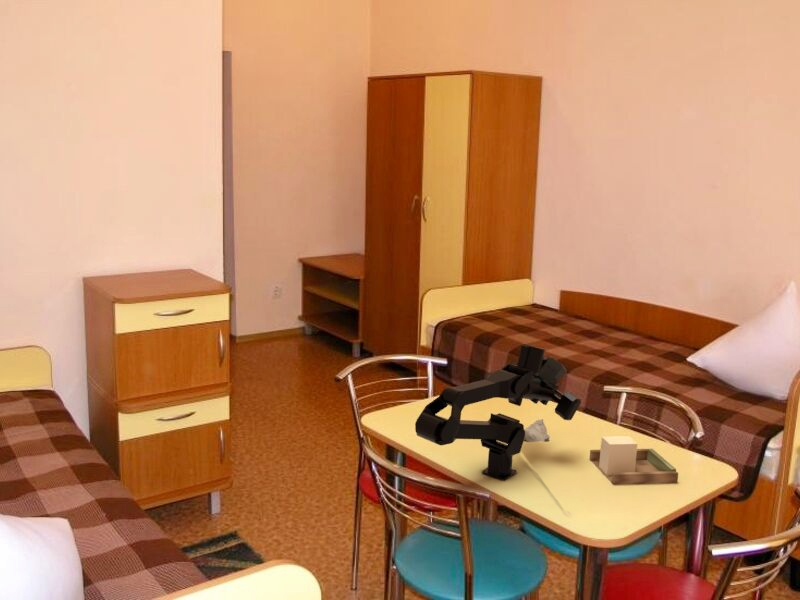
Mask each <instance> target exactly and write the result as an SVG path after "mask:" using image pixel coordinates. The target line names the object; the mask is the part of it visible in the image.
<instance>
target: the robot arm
mask: <svg viewBox="0 0 800 600" xmlns="http://www.w3.org/2000/svg"><path fill="white" fill-rule="evenodd" d="M545 354H546V349H544V348H540V347H536V346H533V345H528V344H522V345H521V346H520V352H519V356H518V360H517V364H512V363H507V364H505V365H504V366H503V367H501V368H500V369H496V370H495V371H493V372H492V373H489V375H488V376H487V378H485V379H482V380H476V381H473V382H470V383H465V384H461V385H457V386H453V387H452V386H451V387H445V388H443V390H442V391H441V393H440V394H439V395H438V397H436V398H435V399H433V400H432V401H431V402H429V403H428V404H427V405H426V406H425V407H424V408H423V409H422V411H421V413H420V414H419V416H418V417H417V419H416V420H415V423H414V424H415V425H414V426H415V433H416V436H418V437H419V438H421V439H424V440H427V441H429V442H432V443H434V444H435V445H438V446H445V445H450V444H453V443H454V442H455V441H456V440H480V444H481V447H483V448H486V449H488V454H487V455H488V458H487V468H485V469H483V470H481V473H482V474H484V475H485V476H489V477H493V478H495V479H499V480H501V481H506V480H508V479H509V478H511V477H512V476H514V475H515V474H517V473H518V470H517V469H513V468H512V467H513V456H514V455H518V454H520V453H521V451H522V447H523V443H524V441H525V439H524V437H525V427H524V424H523V423H521V422H520V420H519V419H517V418H514V417H511V416H509V415H505V414H502V413H497V414H494V413H490V417H489V419H487V420H470V419H468V420H466V419H465V420H464V419H461V418H462V411H463V409H464V408H465V406H468V405H469V406H470V405H473V404H477V403H479V402H484V401H487V400H490V399H496V398H500V399H507V400H508V403H509V404H512V405H515V406H517V407H518V406H519V407H520V406H521V405H522V402H523V399H525V400H528V401H529V400H530V401H531V402H532V403H533V404H538V403H539V402H540V403H541V404H543V405H544V406H547V405H548V403H549V401H550V402H551V400H553V401H555V402H556V403H557V405H556V407H555V408H554V413H555V414H556V415H558V416H559V417H560V418H561V419H563V420H564V421H572V420H573V418H574V416H575V414H576V413H577V412H578V411H577V410H578V409H579V408H580V405H581V404H582V400H581V399H580V398H579V397H578V395H577V396H576V395H575V394H574V393H573V392H570V391H565V392H564V393H562V392H560V390H558V389H559V384H558V383H559V382H560V381H561V380H562V378H563V377H564V376H565V375H567V373H568V372H567V369H566V367H565V366H564V365H563V364H562V363H561V362H559V361H558V360H557V359H555V358H554V357H550V356H546V357H545ZM448 406H450V407H451V408H450V409H451V410H450V411H451V412H450V415H449V417H448V418H446V417H443V416H440V415H437V414H439V412H441V411H442V410H444V409H445V408H447V407H448Z"/></svg>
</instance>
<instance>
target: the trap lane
mask: <svg viewBox="0 0 800 600" xmlns="http://www.w3.org/2000/svg"><path fill="white" fill-rule="evenodd" d="M600 451H601V449H590V451H589V460H590V462H591V463H592V464H594V466H595V467H596V468H597V469H598V470H599V471H600V473H602V475H603V476H605V478H606V479H607V480H608V481H609V482H610V483H611V484H612V485H613V486H615V485H616V486H619V485H624V486H626V485H654V484H655V485H659V484H660V485H663V484H678V481H679V480H678V479H679V472H678V471H677V468H676V467H674V466H673V465H672V464H671V463H670V462H668V461H667V459H665V458H664V457H663V456H662V455H661V454H659V453H658V452H657V451H656V450H655V449H653V448H637V453H636V463H635V472H616V473H612V475H610V476H607V475H606V474H605V473H604V472H603V471H602V470H601V469H600V468H599V462H600Z"/></svg>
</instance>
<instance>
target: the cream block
mask: <svg viewBox="0 0 800 600" xmlns="http://www.w3.org/2000/svg"><path fill="white" fill-rule="evenodd" d="M637 449H638V443H637V442H636V441H635V440H634V439H632V438H631V437H630V436H628V435H627V436H626V435H625V436H624V435H622V436H621V435H620V436H615V435H613V436H601V441H600V450H601V451H600V462H599V468H600V469H601V470H602V471H603V472H604V473H605V474H606V475H607V476H610V475H612V473H616V472H635V463H636V453H637Z"/></svg>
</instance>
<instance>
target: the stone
mask: <svg viewBox="0 0 800 600" xmlns="http://www.w3.org/2000/svg"><path fill="white" fill-rule="evenodd" d="M524 430H525V437H524V441H525V440H526V442H529V443H539V442H540V443H543V442H549V441H550V435H549V434H548V430H547V426H546V424H545V422H544V419H543V418H541V419H537V420H535V421H534V422H533V423H531V424H530V425H529V426H528V427H526V428H524Z"/></svg>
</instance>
